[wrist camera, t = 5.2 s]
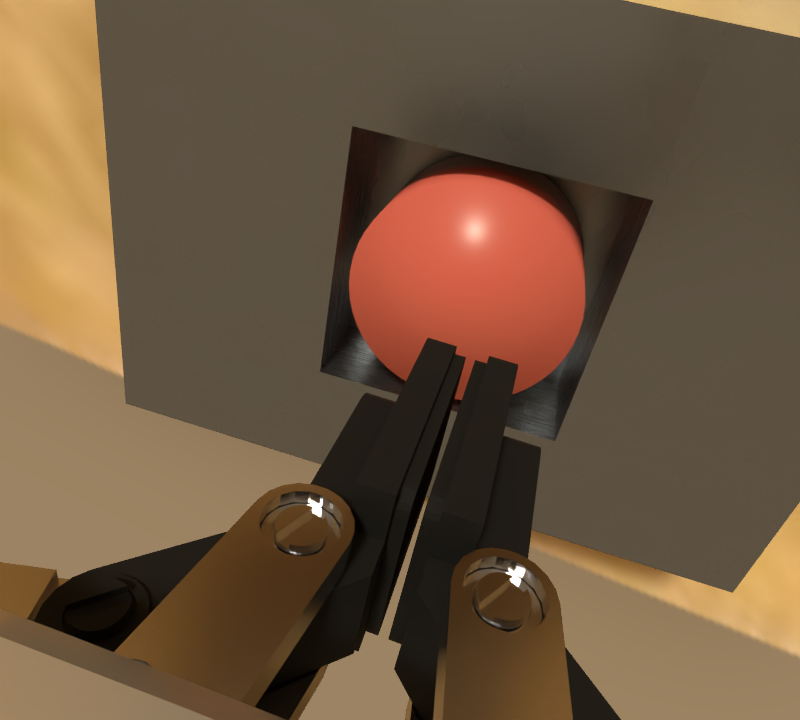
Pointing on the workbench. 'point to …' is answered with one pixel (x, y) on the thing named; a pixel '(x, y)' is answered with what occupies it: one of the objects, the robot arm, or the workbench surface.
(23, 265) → the workbench surface
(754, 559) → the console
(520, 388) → the button
